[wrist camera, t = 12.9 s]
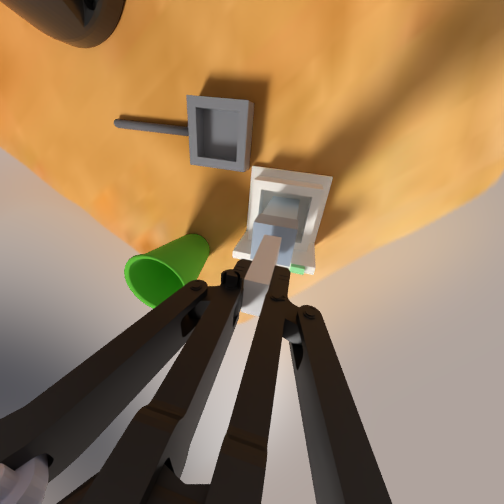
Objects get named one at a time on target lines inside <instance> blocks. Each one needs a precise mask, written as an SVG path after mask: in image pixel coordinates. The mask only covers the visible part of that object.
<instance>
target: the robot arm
mask: <svg viewBox="0 0 504 504" xmlns="http://www.w3.org/2000/svg"><path fill="white" fill-rule="evenodd" d="M0 1H1V2H2V3H3V4H5V5H6V6H7V7H9V8H10V9H11V10H13V11H14V12H15V13H17V14H18V15H19V16H21V17H22V18H23V19H25V20H26V21H27V22H29V23H30V24H32V25H33V26H34V27H36V28H37V29H38V30H40V31H41V32H43V33H45V34H46V35H48V36H50V37H52V38H54V39H57V40H59V41H62V42H64V43H67V44H69V45H72V46H75V47H79V48H91V47H95V46H97V45H99V44H101V43H102V42H104V41H105V40H106V39H107V38H108V37H109V36H110V35H111V33H112V32H113V30H114V28H115V27H116V25H117V22H118V20H119V17H120V14H121V11H122V7H123V2H124V0H0ZM281 239H282V238H281V237H276V236H271V235H264V237H263V239H262V241H261V243H260V246H259V248H258V250H257V252H256V254H255V256H254V259H253V261H251V260H247V259H241V260H239V261H238V262H237V264H236V265H235V267H234V269H229V270H225V271H223V272H222V273H221V285H220V286H207V283H206V282H204V281H202V280H192V281H190V282H188V283H187V284H185V285H184V286H183V287H182V288H180V289H179V290H178V291H176V292H175V293H174V294H172V295H171V296H170V297H168V298H167V299H166V300H164V301H163V302H162V303H160V304H159V305H158V306H156V307H155V308H154V309H153V310H151V311H150V312H149V313H147V314H146V315H145V316H144V317H142V318H141V319H139V320H138V321H137V322H135V323H134V324H133V325H131V326H130V327H129V328H127V329H126V330H125V331H124V332H122V333H121V334H120V335H118V336H117V337H116V338H114V339H113V340H112V341H110V342H109V343H108V344H107V345H105V346H104V347H103V348H101V349H100V350H98V351H97V352H96V353H95V354H93V355H92V356H91V357H89V358H88V359H87V360H85V361H84V362H83V363H81V364H80V365H79V366H78V367H76V368H75V369H73V370H72V371H71V372H70V373H68V374H67V375H66V376H64V377H63V378H62V379H60V380H59V381H58V382H56V383H55V384H54V385H53V386H51V387H50V388H48V389H47V390H46V391H45V392H43V393H42V394H41V395H39V396H38V397H37V398H35V399H34V400H33V401H31V402H30V403H29V404H27V405H26V406H24V407H23V408H21V409H19V410H17V411H15V412H13V413H11V414H9V415H7V416H6V417H4V418H2V419H0V504H41V503H42V501H43V499H44V495H45V490H46V487H47V485H48V483H49V482H50V481H51V480H52V479H54V478H55V477H56V476H57V475H59V474H60V473H61V472H62V471H63V470H64V469H66V468H67V467H68V466H69V465H70V464H71V463H72V462H74V461H75V460H76V459H77V458H78V457H79V456H80V455H81V454H82V453H83V452H84V451H85V450H86V449H87V448H88V447H89V446H90V445H91V444H92V443H93V442H94V441H95V440H96V438H97V437H98V436H99V435H100V434H101V433H102V432H103V431H104V430H105V429H106V428H107V427H108V426H109V425H110V424H111V422H112V421H113V420H114V419H115V418H116V417H117V416H118V415H119V414H120V413H121V412H122V410H123V409H124V408H125V407H126V406H127V405H128V404H129V403H130V402H131V401H132V400H133V399H134V398H135V397H136V396H137V394H138V393H139V392H140V391H141V390H142V389H143V388H144V387H145V386H146V385H147V384H148V383H149V382H150V381H151V379H152V378H153V377H154V376H155V375H156V374H157V373H158V372H159V371H160V370H161V369H162V368H163V367H164V365H165V364H166V363H167V362H168V361H169V360H170V359H171V358H172V357H173V356H174V355H175V354H176V353H177V352H178V350H179V349H180V348H181V347H182V346H183V345H184V344H185V343H186V344H185V345H184V347H183V349H182V351H181V352H180V354H179V355H178V357H177V359H176V361H175V362H174V364H173V365H172V367H171V369H170V370H169V372H168V374H167V375H166V377H165V379H164V381H163V382H162V384H161V386H160V387H159V389H158V391H157V392H156V394H155V396H154V397H153V399H152V401H151V402H150V403H149V404H148V405H146V406H144V407H142V408H141V409H140V410H139V411H138V412H137V413H136V415H135V416H134V418H133V419H132V421H131V422H130V424H129V425H128V427H127V429H126V430H125V432H124V433H123V435H122V437H121V438H120V440H119V441H118V443H117V445H116V447H115V448H114V449H113V451H112V453H111V454H110V456H109V458H108V459H107V461H106V462H105V464H104V466H103V467H102V469H101V470H100V472H98V473H97V474H96V475H94V476H93V477H91V478H90V479H89V480H87V481H86V482H85V483H83V484H82V485H81V486H79V487H78V488H77V489H76V490H74V491H73V492H71V493H70V494H69V495H68V496H66V497H65V498H63V499H62V500H61V501H59V502H58V503H57V504H261V499H262V492H263V485H264V477H265V470H266V462H267V443H268V436H269V429H270V422H271V415H272V407H273V400H274V393H275V385H276V378H277V371H278V364H279V357H280V349H281V342H282V337H283V338H285V339H287V340H288V341H289V345H290V351H291V357H292V363H293V368H294V374H295V380H296V386H297V392H298V397H299V404H300V410H301V416H302V421H303V427H304V433H305V439H306V445H307V451H308V456H309V462H310V468H311V474H312V480H313V486H314V492H315V497H316V503H317V504H392V502H391V499H390V497H389V494H388V491H387V488H386V486H385V483H384V481H383V478H382V475H381V472H380V470H379V468H378V464H377V462H376V459H375V456H374V454H373V451H372V449H371V446H370V443H369V440H368V438H367V435H366V432H365V430H364V427H363V424H362V422H361V419H360V416H359V414H358V411H357V408H356V406H355V403H354V400H353V397H352V395H351V392H350V390H349V387H348V384H347V381H346V379H345V376H344V373H343V371H342V368H341V365H340V363H339V360H338V357H337V355H336V352H335V349H334V347H333V344H332V341H331V339H330V336H329V333H328V331H327V328H326V326H325V323H324V320H323V317H322V315H321V313H320V311H319V310H317V309H316V308H315V307H313V306H309V305H303V306H301V307H297V306H295V305H294V304H292V303H291V302H290V301H289V299H288V297H287V294H288V287H289V279H290V271H289V268H286V267H282V266H277V260H278V255H279V250H280V244H281ZM240 309H241V312H243V313H247V314H251V315H255V316H259V320H258V324H257V327H256V331H255V334H254V338H253V341H252V345H251V348H250V352H249V355H248V359H247V363H246V366H245V370H244V373H243V377H242V380H241V384H240V388H239V391H238V395H237V398H236V402H235V405H234V409H233V413H232V416H231V420H230V423H229V427H228V430H227V433H226V435H225V437H224V440H223V443H222V446H221V449H220V453H219V456H218V460H217V463H216V467H215V470H214V474H213V477H212V481H211V484H185V483H183V482H182V481H181V480H180V477H181V474H182V472H183V469H184V466H185V463H186V459H187V455H188V451H189V447H190V444H191V441H192V438H193V436H194V433H195V430H196V428H197V425H198V423H199V420H200V417H201V415H202V412H203V410H204V407H205V404H206V402H207V399H208V396H209V394H210V391H211V389H212V386H213V383H214V381H215V378H216V376H217V373H218V371H219V368H220V365H221V363H222V360H223V358H224V355H225V352H226V350H227V347H228V345H229V342H230V340H231V337H232V334H233V332H234V329H235V327H236V324H237V321H238V319H239V312H240Z"/></svg>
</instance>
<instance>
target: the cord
mask: <svg viewBox="0 0 504 504" xmlns="http://www.w3.org/2000/svg"><path fill="white" fill-rule="evenodd" d="M114 125H115V126H116V127H118V128H124V129H133V130H141V131H150V132H158V133H166V134H175V135H183V136H189V130H188V127H183V126H174V125H165V124H156V123H147V122H139V121H130V120H121V119H115V120H114Z"/></svg>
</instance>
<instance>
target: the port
mask: <svg viewBox="0 0 504 504" xmlns="http://www.w3.org/2000/svg"><path fill="white" fill-rule="evenodd" d="M332 179H333V176H326V175H318V174H311V173H304V172H297V171H289V170H282V169H275V168H267V167H260V166H252V173H251V185H250V196H249V208H248V219H247V230H246V232H245V233H244V235H243V236H242V238H241V239H240V241H239V242H238V244H237V245H236V247H235V248H234V250H233V258H237V259H247V260H251V261H253V259H250V255H251V244H252V234H253V223H254V221H255V219H256V218H257V216H258V214H259V213H260V214H262V213H263V212H264V210H265V208H266V207H267V205H268V203H269V202H270V200H271V199H272V197H273V196H278V197H285V198H292V199H298V200H300V201H299V208H298V214H297V220H299V223H298V231H297V235H296V240H295V244H294V249H293V254H292V258H291V263H290V267H288V266H283V265H278V264H277V266H282V267H286V268H289V270H290V272H292V273H297V274H302V275H303V274H304V273H307V274H312V275H313V274H314V271H315V247H314V243H315V239H316V236H317V232H318V229H319V225H320V222H321V218H322V215H323V211H324V208H325V204H326V201H327V197H328V194H329V190H330V186H331V183H332Z"/></svg>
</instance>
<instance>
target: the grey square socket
mask: <svg viewBox="0 0 504 504" xmlns="http://www.w3.org/2000/svg"><path fill="white" fill-rule="evenodd" d="M187 113H188V130H189V148H190V164H191V165H198V166H205V167H212V168H219V169H226V170H233V171H240V172H245V171H247V170H249V165H250V153H251V140H252V128H253V116H254V103H252V102H251V101H249V100H241V99H229V98H217V97H205V96H193V95H187Z"/></svg>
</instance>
